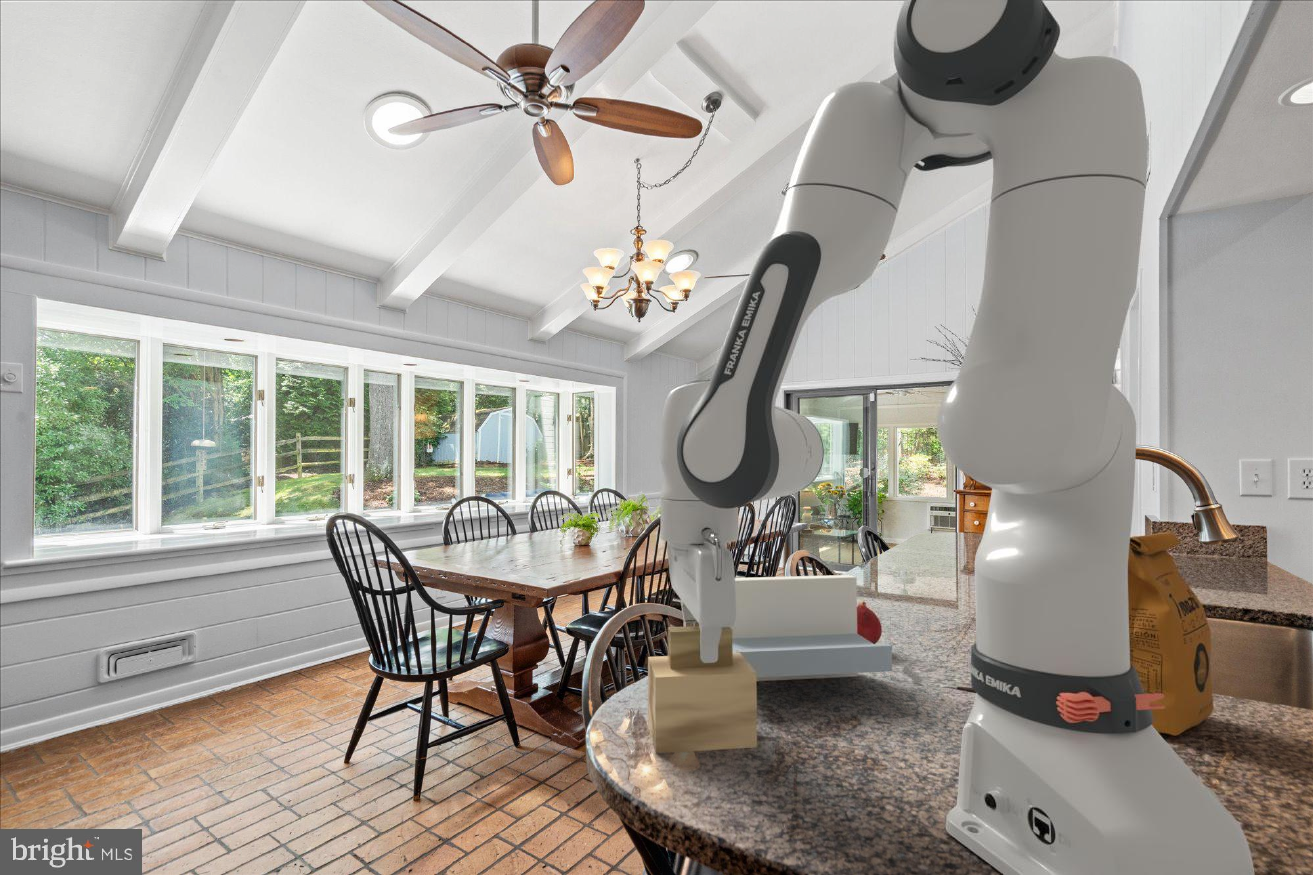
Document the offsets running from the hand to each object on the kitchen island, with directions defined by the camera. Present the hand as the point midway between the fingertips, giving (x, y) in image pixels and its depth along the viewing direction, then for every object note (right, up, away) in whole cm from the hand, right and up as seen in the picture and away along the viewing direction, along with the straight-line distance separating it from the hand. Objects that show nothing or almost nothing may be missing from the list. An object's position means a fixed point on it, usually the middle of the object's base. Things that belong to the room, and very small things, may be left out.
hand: (699, 647), depth 70 cm
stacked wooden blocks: (0, -10, 0) cm, 10 cm away
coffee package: (+54, -10, +3) cm, 55 cm away
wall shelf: (+14, -10, +14) cm, 22 cm away
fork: (+37, -11, +13) cm, 40 cm away
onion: (+28, -11, +30) cm, 43 cm away
